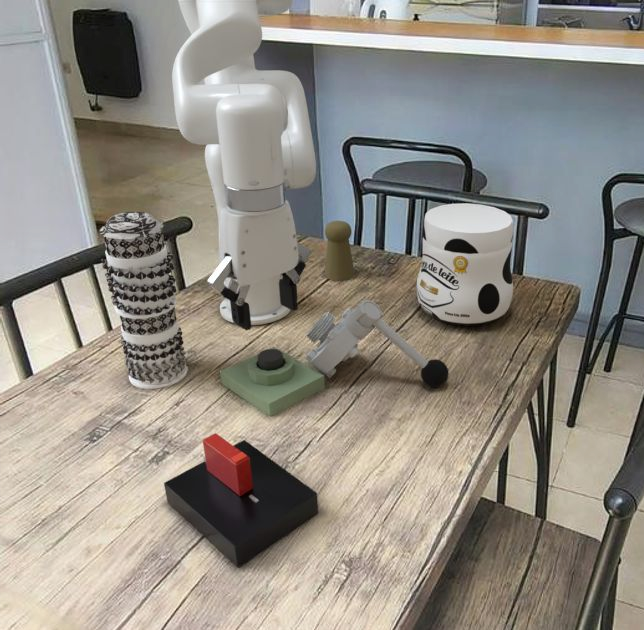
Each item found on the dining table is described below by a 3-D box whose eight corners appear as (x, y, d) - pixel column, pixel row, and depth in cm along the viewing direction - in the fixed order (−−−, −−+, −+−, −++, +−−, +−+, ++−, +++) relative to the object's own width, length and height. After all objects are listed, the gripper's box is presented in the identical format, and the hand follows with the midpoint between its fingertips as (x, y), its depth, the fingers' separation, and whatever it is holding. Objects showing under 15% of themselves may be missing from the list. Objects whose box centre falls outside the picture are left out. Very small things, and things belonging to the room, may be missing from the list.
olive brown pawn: (343, 266, 141) (342, 215, 136) (360, 275, 137) (359, 224, 132) (318, 273, 138) (316, 221, 133) (335, 283, 134) (333, 230, 129)
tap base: (165, 501, 80) (161, 480, 78) (244, 457, 87) (242, 437, 85) (237, 568, 71) (234, 546, 70) (318, 512, 78) (317, 491, 77)
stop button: (253, 365, 100) (252, 355, 99) (273, 356, 102) (272, 346, 101) (268, 374, 98) (267, 364, 97) (288, 365, 100) (287, 354, 99)
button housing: (221, 383, 102) (217, 360, 100) (275, 358, 108) (273, 336, 106) (270, 416, 95) (268, 392, 93) (325, 387, 101) (324, 365, 99)
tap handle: (206, 470, 80) (201, 438, 78) (220, 463, 81) (215, 431, 79) (240, 496, 76) (235, 463, 74) (253, 488, 77) (249, 455, 75)
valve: (382, 443, 105) (445, 396, 97) (284, 360, 101) (341, 303, 93) (401, 402, 113) (461, 355, 105) (311, 324, 110) (366, 269, 102)
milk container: (402, 324, 119) (404, 227, 111) (432, 284, 134) (435, 196, 126) (499, 341, 115) (508, 241, 106) (518, 299, 129) (528, 208, 121)
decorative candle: (177, 392, 99) (150, 230, 88) (115, 388, 100) (79, 227, 88) (199, 359, 107) (176, 208, 96) (141, 356, 108) (112, 205, 96)
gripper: (290, 176, 96) (298, 289, 104) (178, 203, 84) (197, 329, 92) (326, 188, 91) (330, 305, 100) (213, 218, 80) (229, 348, 88)
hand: (266, 315), depth 96 cm, fingers open, 7 cm apart
